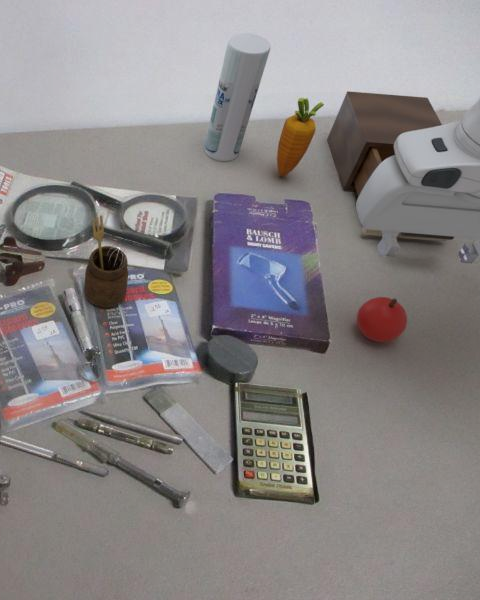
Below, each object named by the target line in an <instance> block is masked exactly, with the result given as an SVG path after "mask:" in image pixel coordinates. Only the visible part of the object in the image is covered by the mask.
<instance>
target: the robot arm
mask: <svg viewBox="0 0 480 600" xmlns="http://www.w3.org/2000/svg"><path fill="white" fill-rule="evenodd" d="M394 151H395V155H393V156H390V157H389V158H387V159H385V160H384V161H383V162H381V163H380V164H379V166H378V167H377V168H376V169H375V171H374V172H373V174H372V175H371V176H370V178H369V180H368V181H367V183H366V184H365V186H364V188H363V190H362V191H361V193H360V195H359V197H358V196H357V200H356V203H355V208H356V213H357V216H358V219H359V221H360V223H361V225H362V227H363V228H365V229H369V230H381V231H382V236H381V237H382V238H381V239H380V241H379V243H378V245H377V251H378V254H379V256H380V257H389V258H394V257H396V254H397V253H398V252H399V250H400V249H401V248H400V247H401V246H400V245H399V243H398V239H397V238H398V237H397V236H398V234H399V233H400V232H405V233H417V234H429V235H440V236H452V237H454V238H455V237H456V238H466V239H476V240H475V241H474V242H472V243H471V242H470V243H469V242H465V243H464V245H463V246H462V248H461V249H460V250H459V251H458V258H459V259H460V262H461V263H463V264H470V265H471V264H472V265H476V264H478V262H479V261H480V97H479V98H478V99H477V101H476V102H475V103H474V104H473V105H472V106H470V107H469V109H467V111H465V113H464V114H463V116H462V117H461V119H460V120H456V121H452V122H449V123H445V124H442V125H441V126H436V127H431V128H426V129H421V130H415V131H409V132H405V133H402V134H400V135H399V136H398V137H397V139H396V141H395V143H394ZM391 236H393V237H391Z"/></svg>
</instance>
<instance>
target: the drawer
mask: <svg viewBox="0 0 480 600" xmlns="http://www.w3.org/2000/svg"><path fill="white" fill-rule="evenodd" d="M393 155H395V151H394V149H391V148H378V147H369V149H368V151H367V153H366V155H365V157H364V159H363V161H362V163H361V165H360V167H359V169H358V172H357V174H356V176H355V178H354V180H353V182H354V185H355V188H356V191H355V192H356V194H357V198H358V197H359V195H360V193H361V191H362V190H363V188H364V186H365V184H366V183H367V181H368V180H369V178H370V176H371V175H372V174H373V172H374V171H375V169H376V168H377V167H378V166H379V164H380V163H381V162H383V161H384V160H385V159H387V158H389V157H390V156H393ZM362 231H363V234H364V235H366V236H376V237H377V236H379V237H383V236H382V231H381V230H369V229H365V228H364V227H363V228H362ZM391 237H393V236H391ZM396 238H401V239H412V240H413V239H414V240H426V241H437V242H447V240H448V241H452V240H454V239H455V237H452V236H440V235H429V234H417V233H405V232H400V233H399V234H398V236H397V237H396Z"/></svg>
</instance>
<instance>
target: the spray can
mask: <svg viewBox="0 0 480 600" xmlns="http://www.w3.org/2000/svg"><path fill="white" fill-rule="evenodd" d="M271 47H272V46H271V43H270V41H269V40H268V39H266V38H265V37H263V36H262V35H258V34H254V33H250V32H241V33H236V34H232V36H229V38H228V41H227V44H226V49H225V54H224V58H223V63H222V67H221V71H220V74H219V75H220V76H219V80H218V84H217V89H216V93H215V96H214V97H215V98H214V103H213V106H212V111H211V116H210V120H209V123H208V128H207V132H206V137H205V141H204V145H203V146H204V147H203V150H204V153H205V154H206V156H207V157H209V158H210V159H212V160H214V161H218V162H231V161H234V160H235V159H236V158H237V157H238V155H239V154H240V150H241V147H242V144H243V141H244V139H245V135H246V131H247V127H248V125H249V122H250V118H251V114H252V111H253V107H254V105H255V101H256V99H257V95H258V92H259V88H260V84H261V82H262V78H263V74H264V72H265V69H266V64H267V61H268V58H269V54H270V52H271Z"/></svg>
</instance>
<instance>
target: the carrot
mask: <svg viewBox="0 0 480 600" xmlns="http://www.w3.org/2000/svg"><path fill="white" fill-rule="evenodd" d="M324 105H325V104H324V102H322V101H320V102H318V103H317V104H316V105H315V106H314V107H313V108H312V109H311V110H310V101H309V98H306V97H299V98H298V100H297V108H298V110H295V111H294V114H293V115H291V116H289V117H287V118H286V119H285V120H284V124H283V127H282V129H281V133H280V136H279V140H278V145H277V154H276V166H277V172H278V175H279V177H280V178H284V177H286V176H287V175H288V174H290V173H291V172H292V171H293V170H294V169H295V168H297V166H298V165H299V163H300V162H301V160H302V159H303V157H304V156H305V154H306V153H307V151H308V150H309V149H308V148H309V147H310V144H311V142H312V140H313V138H314V136H315V134H316V129H317V128H316V124H315V120H314V119H313V118H311V117H316V115H317V112H318V111H319V110H320V109H321V108H323V107H324Z"/></svg>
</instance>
